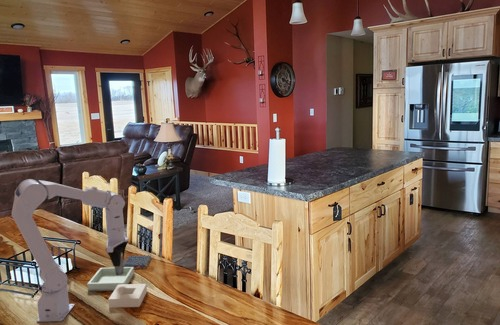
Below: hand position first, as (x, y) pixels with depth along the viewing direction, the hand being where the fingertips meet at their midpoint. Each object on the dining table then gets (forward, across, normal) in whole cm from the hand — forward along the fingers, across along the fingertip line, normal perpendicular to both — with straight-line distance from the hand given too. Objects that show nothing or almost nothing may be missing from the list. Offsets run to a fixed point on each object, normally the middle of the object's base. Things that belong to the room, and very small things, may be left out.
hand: (118, 263), depth 137 cm
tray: (+10, +7, +6) cm, 14 cm away
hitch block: (+10, -6, -5) cm, 13 cm away
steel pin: (+4, 0, 0) cm, 4 cm away
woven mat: (+11, +23, +1) cm, 26 cm away
